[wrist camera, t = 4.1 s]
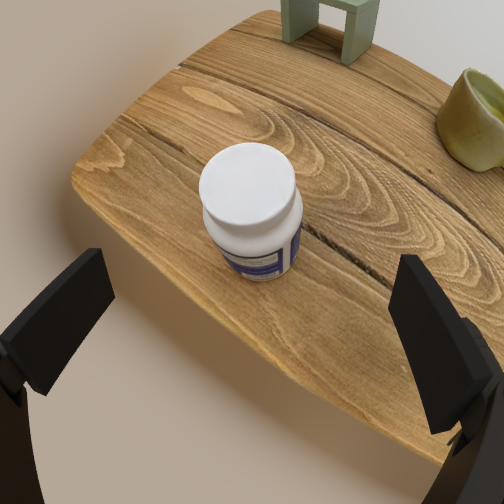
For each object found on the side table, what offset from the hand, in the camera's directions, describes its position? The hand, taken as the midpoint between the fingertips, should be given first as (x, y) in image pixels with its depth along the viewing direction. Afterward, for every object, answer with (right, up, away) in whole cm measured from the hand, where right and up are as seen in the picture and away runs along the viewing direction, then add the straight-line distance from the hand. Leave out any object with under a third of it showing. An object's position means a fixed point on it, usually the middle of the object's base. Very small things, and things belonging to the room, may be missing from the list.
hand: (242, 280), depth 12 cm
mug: (+26, +12, +12) cm, 31 cm away
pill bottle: (+1, +1, +11) cm, 11 cm away
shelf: (+11, +30, +19) cm, 37 cm away
